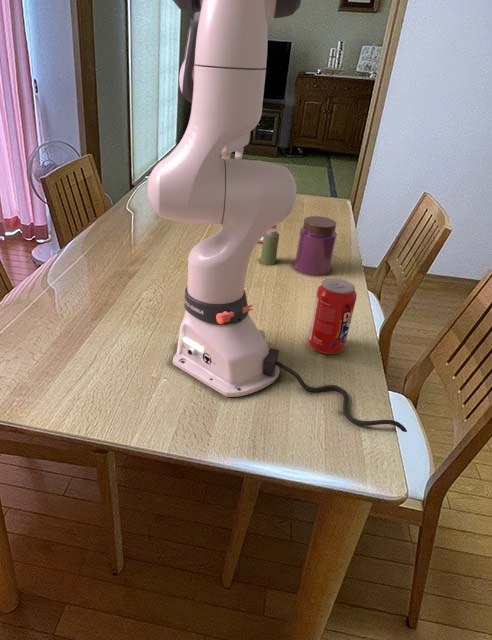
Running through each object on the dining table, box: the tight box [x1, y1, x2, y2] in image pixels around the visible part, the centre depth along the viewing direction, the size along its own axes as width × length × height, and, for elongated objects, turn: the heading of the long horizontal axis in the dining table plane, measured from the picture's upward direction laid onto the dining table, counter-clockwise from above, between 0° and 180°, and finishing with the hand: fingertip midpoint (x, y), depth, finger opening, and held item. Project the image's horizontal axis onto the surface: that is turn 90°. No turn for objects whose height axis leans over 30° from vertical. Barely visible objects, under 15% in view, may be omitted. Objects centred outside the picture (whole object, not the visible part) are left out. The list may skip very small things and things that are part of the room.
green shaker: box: [260, 227, 280, 265], centre depth 140 cm, size 4×4×10 cm
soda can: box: [307, 277, 358, 355], centre depth 101 cm, size 8×8×15 cm
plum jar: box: [294, 215, 338, 276], centre depth 136 cm, size 10×10×14 cm
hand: (232, 167), depth 133 cm, fingers open, 8 cm apart
